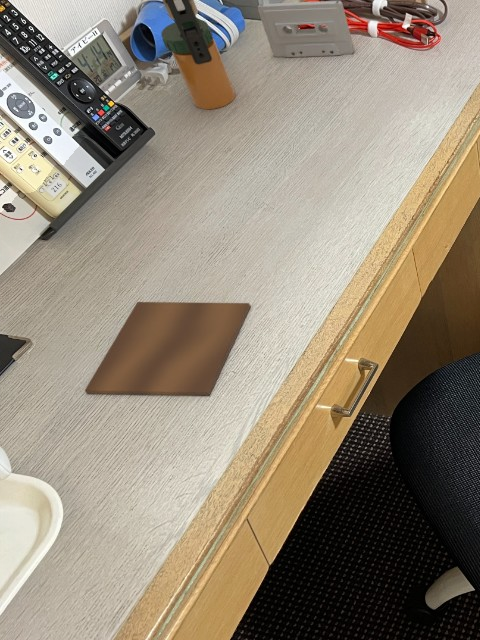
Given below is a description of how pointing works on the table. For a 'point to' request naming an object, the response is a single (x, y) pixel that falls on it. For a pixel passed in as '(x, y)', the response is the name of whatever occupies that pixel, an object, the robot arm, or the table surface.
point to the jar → (206, 79)
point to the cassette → (306, 40)
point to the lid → (177, 43)
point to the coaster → (170, 349)
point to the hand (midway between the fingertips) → (199, 50)
